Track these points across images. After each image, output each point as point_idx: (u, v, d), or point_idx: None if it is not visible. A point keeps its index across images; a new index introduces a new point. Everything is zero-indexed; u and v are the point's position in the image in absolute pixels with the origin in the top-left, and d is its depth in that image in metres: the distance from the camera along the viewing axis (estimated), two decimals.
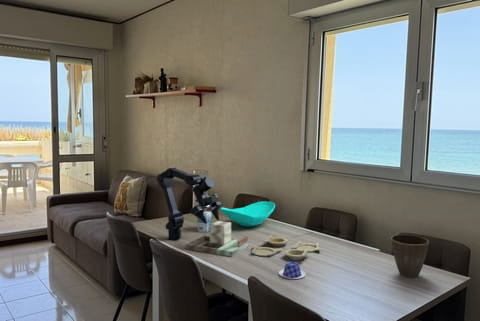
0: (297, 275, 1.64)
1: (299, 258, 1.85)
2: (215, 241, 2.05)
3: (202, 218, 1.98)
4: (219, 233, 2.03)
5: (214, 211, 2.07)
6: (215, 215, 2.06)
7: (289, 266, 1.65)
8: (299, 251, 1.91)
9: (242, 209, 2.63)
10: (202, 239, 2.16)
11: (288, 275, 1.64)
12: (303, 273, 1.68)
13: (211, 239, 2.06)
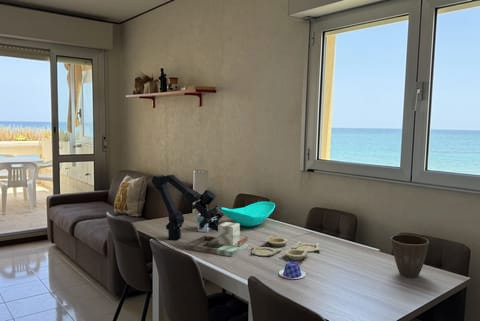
0: (297, 275, 1.64)
1: (299, 258, 1.85)
2: (223, 242, 2.03)
3: (216, 227, 2.07)
4: (228, 235, 2.01)
5: None
6: None
7: (289, 266, 1.64)
8: (299, 251, 1.91)
9: (242, 209, 2.63)
10: (202, 239, 2.16)
11: (288, 275, 1.64)
12: (303, 273, 1.68)
13: (219, 240, 2.04)
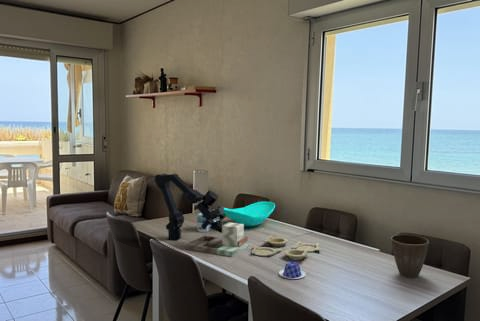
0: (298, 275, 1.64)
1: (299, 258, 1.85)
2: (228, 243, 2.02)
3: (218, 228, 2.07)
4: (232, 235, 2.00)
5: None
6: None
7: (290, 266, 1.64)
8: (299, 251, 1.91)
9: (242, 209, 2.63)
10: (202, 239, 2.16)
11: (289, 275, 1.64)
12: (303, 273, 1.68)
13: (223, 241, 2.03)
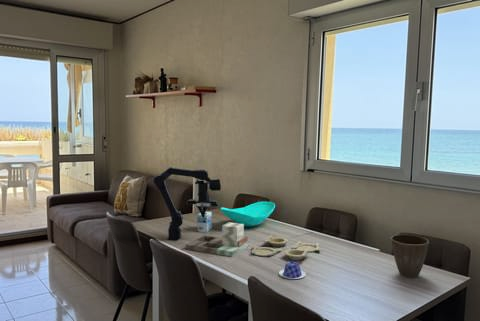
0: (298, 275, 1.64)
1: (299, 258, 1.85)
2: (228, 243, 2.02)
3: (205, 212, 2.23)
4: (232, 235, 2.00)
5: (202, 208, 2.23)
6: (202, 211, 2.23)
7: (290, 266, 1.64)
8: (299, 251, 1.91)
9: (242, 209, 2.63)
10: (202, 239, 2.16)
11: (290, 275, 1.64)
12: (302, 272, 1.68)
13: (223, 241, 2.03)
